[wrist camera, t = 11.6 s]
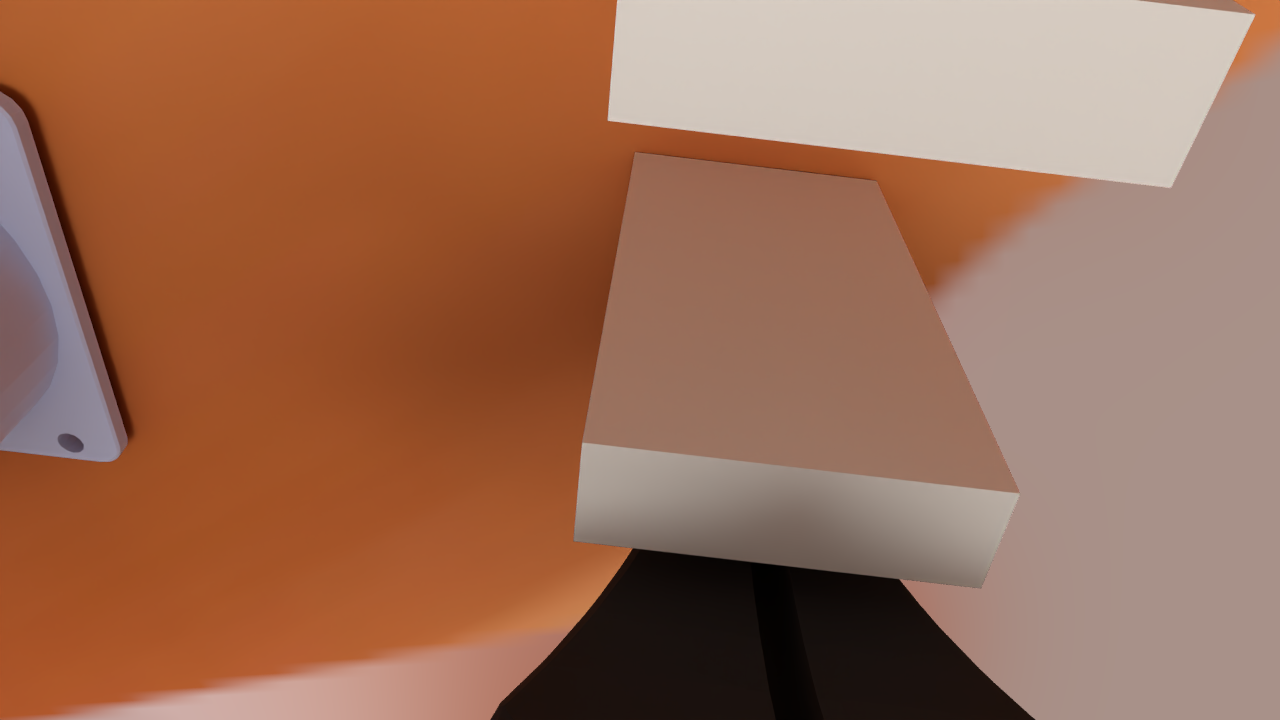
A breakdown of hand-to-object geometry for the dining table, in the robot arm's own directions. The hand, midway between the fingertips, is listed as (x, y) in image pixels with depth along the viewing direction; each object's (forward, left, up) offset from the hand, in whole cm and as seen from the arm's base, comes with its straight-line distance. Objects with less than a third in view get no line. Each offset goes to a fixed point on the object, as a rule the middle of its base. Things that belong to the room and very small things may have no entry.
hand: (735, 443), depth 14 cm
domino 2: (0, +2, -4) cm, 4 cm away
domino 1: (0, +7, -4) cm, 8 cm away
